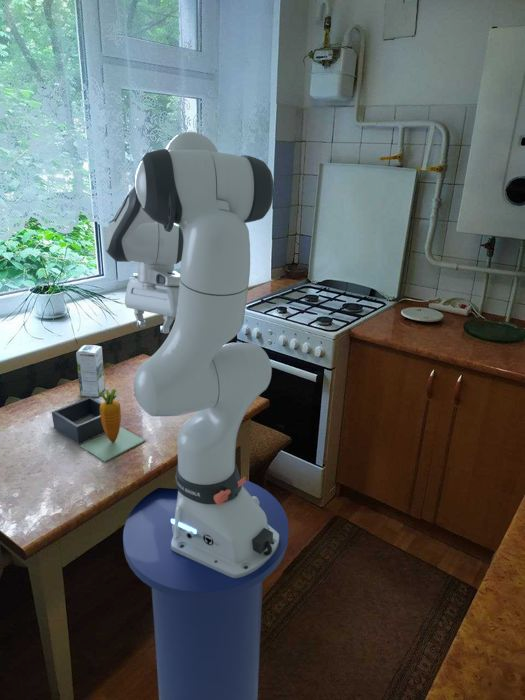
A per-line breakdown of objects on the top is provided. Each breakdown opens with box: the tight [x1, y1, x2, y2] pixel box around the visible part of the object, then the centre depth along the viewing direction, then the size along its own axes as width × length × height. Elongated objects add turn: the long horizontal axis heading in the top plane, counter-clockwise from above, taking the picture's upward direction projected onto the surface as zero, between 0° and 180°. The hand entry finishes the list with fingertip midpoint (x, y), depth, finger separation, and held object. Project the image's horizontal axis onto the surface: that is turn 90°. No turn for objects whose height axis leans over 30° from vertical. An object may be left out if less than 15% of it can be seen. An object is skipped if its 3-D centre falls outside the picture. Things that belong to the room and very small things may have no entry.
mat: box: [80, 426, 146, 463], centre depth 125 cm, size 10×12×1 cm
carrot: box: [99, 387, 122, 443], centre depth 122 cm, size 5×5×15 cm
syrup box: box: [75, 344, 106, 398], centre depth 148 cm, size 6×6×14 cm
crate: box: [51, 396, 105, 445], centre depth 131 cm, size 12×12×5 cm
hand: (152, 330), depth 128 cm, fingers open, 8 cm apart
